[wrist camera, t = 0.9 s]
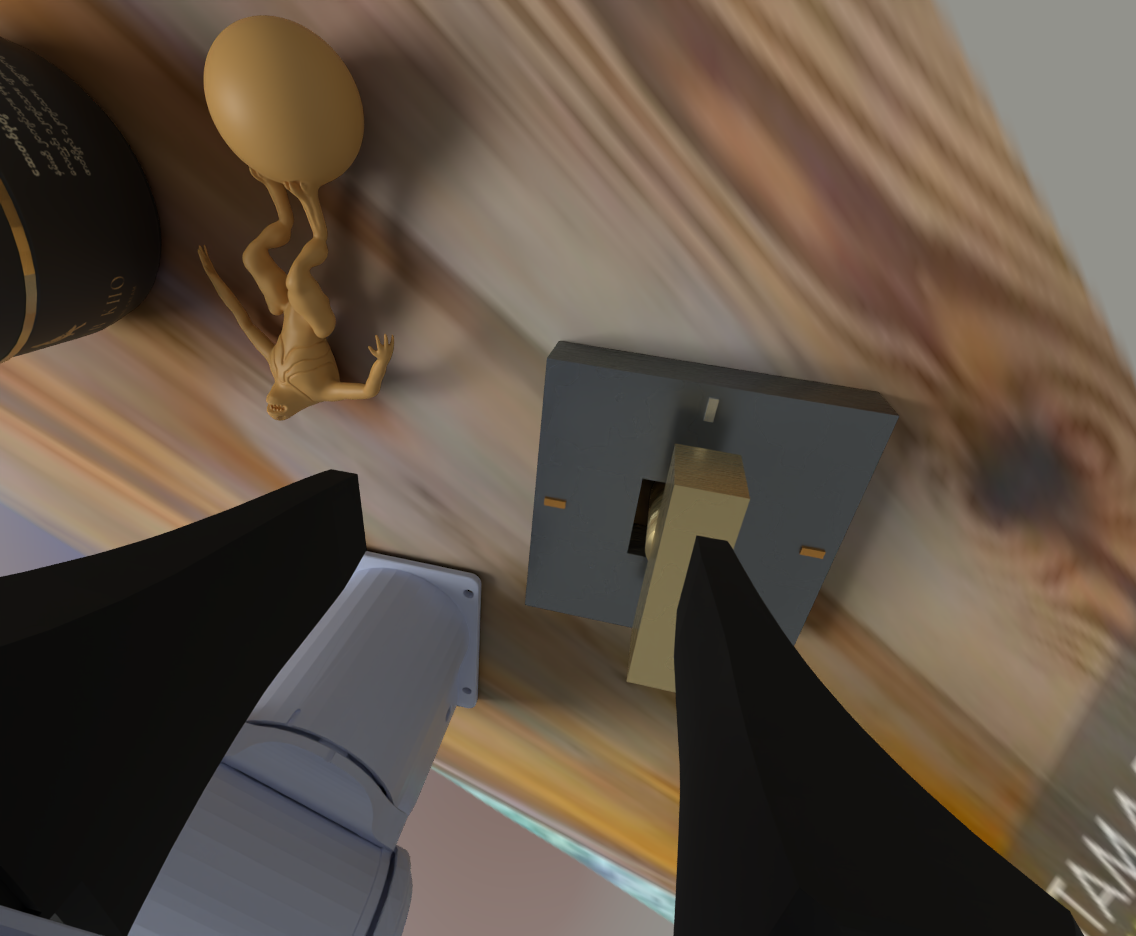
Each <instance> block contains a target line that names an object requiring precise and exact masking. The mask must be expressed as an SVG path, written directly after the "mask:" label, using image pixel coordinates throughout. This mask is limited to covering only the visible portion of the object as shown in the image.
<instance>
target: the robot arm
mask: <svg viewBox="0 0 1136 936" xmlns="http://www.w3.org/2000/svg"><path fill="white" fill-rule="evenodd" d="M366 550H367V548H366V540H365V532H364V523H363V515H362V507H361V499H360V491H359V483H358V474H354V473H348V472H343V471H337V470H332V469H331V470H328V471H324V472H321V473H318V474H315V475H313V476H310V477H307V478H305V479H302V480H300V481H297V482H295V483H292V484H290V485H287V486H285V487H282V488H280V489H278V490H275V491H273V492H270V493H268V494H265V495H263V496H261V497H258V498H256V499H253V500H251V501H248V502H246V503H243V504H241V505H239V506H236V507H234V508H231V509H229V510H226V511H223V512H221V513H218V514H215V515H213V516H210V517H207V518H205V519H202V520H199V521H197V522H194V523H191V524H189V525H186V526H183V527H181V528H178V529H175V530H172V531H170V532H167V533H164V534H161V535H158V536H155V537H152V538H148V539H145V540H142V541H139V542H136V543H132V544H129V545H126V546H122V547H119V548H116V549H112V550H109V551H106V552H102V553H98V554H95V555H91V556H87V557H83V558H79V559H75V560H71V561H67V562H63V563H59V564H54V565H51V566H46V567H42V568H39V569H34V570H30V571H26V572H22V573H17V574H12V575H8V576H3V577H0V936H401V935H402V933H403V929H404V926H405V923H406V919H407V915H408V911H409V907H410V902H411V897H412V877H411V871H410V869H411V863H410V856H409V853H408V852H407V850H405V849H403V848H402V847H399V846H398V845H396V844H397V841H398V839H399V837H400V834H401V832H402V829H403V827H404V825H405V822H406V820H407V818H408V816H409V814H410V813H411V811H412V809H413V808H414V806H415V804H416V801H417V799H418V797H419V795H420V792H421V790H422V787H423V785H424V783H425V780H426V778H427V775H428V773H429V771H430V768H431V766H432V763H433V761H434V759H435V756H436V754H437V751H438V749H439V747H440V744H441V742H442V739H443V737H444V735H445V732H446V730H447V727H448V725H449V722H450V720H451V718H452V715H453V713H454V710H455V708H456V706H461V707H465V708H473V707H474V706H475V705H476V702H477V700H478V672H479V641H480V610H481V580H480V578H479V577H478V576H477V575H475V574H473V573H469V572H464V571H459V570H454V569H450V568H445V567H440V566H435V565H431V564H426V563H421V562H416V561H411V560H407V559H402V558H397V557H392V556H388V555H383V554H378V553H373V552H369V551H366ZM468 590H470V591H472V592H473V593H471V592H469V591H468ZM674 672H675V691H676V709H677V726H678V744H679V761H680V808H679V835H678V858H677V879H676V900H675V919H674V936H1084V935H1083V933H1082V931H1081V930H1080V928H1079V926H1078V925H1077V923H1076V921H1075V920H1074V918H1073V916H1072V915H1071V913H1070V911H1069V910H1067V909H1066V908H1065V907H1064V906H1063V905H1061V904H1060V903H1059V902H1058V901H1056V900H1055V899H1054V898H1053V897H1051V896H1050V895H1049V894H1048V893H1046V892H1045V891H1044V890H1043V889H1042V888H1040V887H1039V886H1038V885H1037V884H1035V883H1034V882H1033V881H1032V880H1030V879H1029V878H1028V877H1027V876H1025V875H1024V874H1023V873H1022V872H1021V871H1019V870H1018V869H1017V868H1016V867H1014V866H1013V865H1012V864H1011V863H1009V862H1008V861H1007V860H1006V859H1004V858H1003V857H1002V856H1001V855H1000V854H998V853H997V852H996V851H995V850H993V849H992V848H991V847H990V846H988V845H987V844H986V843H985V842H983V841H982V840H981V839H980V838H979V837H978V836H976V835H975V834H974V833H973V832H972V831H971V830H969V829H968V828H967V827H966V826H965V825H964V824H963V823H961V822H960V821H959V820H958V819H957V818H956V817H955V816H954V815H953V814H951V813H950V812H949V811H948V810H947V809H946V808H945V807H944V806H942V805H941V804H940V803H939V802H938V801H937V800H936V799H935V798H933V797H932V796H931V795H930V794H929V793H928V792H927V791H926V790H925V789H924V788H923V787H921V786H920V785H919V784H918V783H917V782H916V781H915V780H914V779H913V778H912V777H911V776H910V775H909V774H908V773H907V772H906V771H904V770H903V769H902V768H901V767H900V766H899V765H898V764H897V763H896V762H895V761H894V760H893V759H892V758H891V757H890V756H889V755H888V754H887V753H886V752H885V751H884V750H883V749H882V748H881V747H880V746H879V745H878V744H877V743H876V742H875V741H874V740H873V738H872V737H871V736H870V735H869V734H868V733H867V732H866V731H865V730H864V729H863V728H862V727H861V726H860V725H859V724H858V723H857V722H856V721H855V720H854V719H853V718H852V716H851V715H850V714H849V713H848V712H847V711H846V710H845V709H844V708H843V706H842V705H841V704H840V703H839V702H838V701H837V699H836V698H835V697H834V696H833V695H832V694H831V692H830V691H829V690H828V689H827V688H826V687H825V686H824V684H823V683H822V682H821V681H820V680H819V679H818V677H817V676H816V675H815V674H814V672H813V671H812V670H811V669H810V667H809V666H808V665H807V663H806V662H805V661H804V659H803V658H802V657H801V655H800V654H799V653H798V651H797V650H796V649H795V647H794V646H793V644H792V643H791V642H790V640H789V639H788V637H787V636H786V635H785V633H784V632H783V630H782V629H781V627H780V626H779V624H778V623H777V621H776V620H775V618H774V617H773V615H772V614H771V612H770V611H769V609H768V607H767V606H766V604H765V603H764V601H763V600H762V598H761V596H760V595H759V593H758V592H757V590H756V588H755V587H754V585H753V583H752V582H751V580H750V578H749V577H748V575H747V573H746V571H745V570H744V568H743V566H742V564H741V563H740V561H739V559H738V557H737V555H736V554H735V552H734V550H733V548H732V546H731V545H730V544H729V542H728V541H726V540H720V539H714V538H709V537H703V536H698V535H696V539H695V543H694V547H693V551H692V554H691V558H690V562H689V566H688V570H687V573H686V577H685V581H684V585H683V589H682V592H681V596H680V600H679V604H678V608H677V613H676V628H675V643H674Z"/></svg>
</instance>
